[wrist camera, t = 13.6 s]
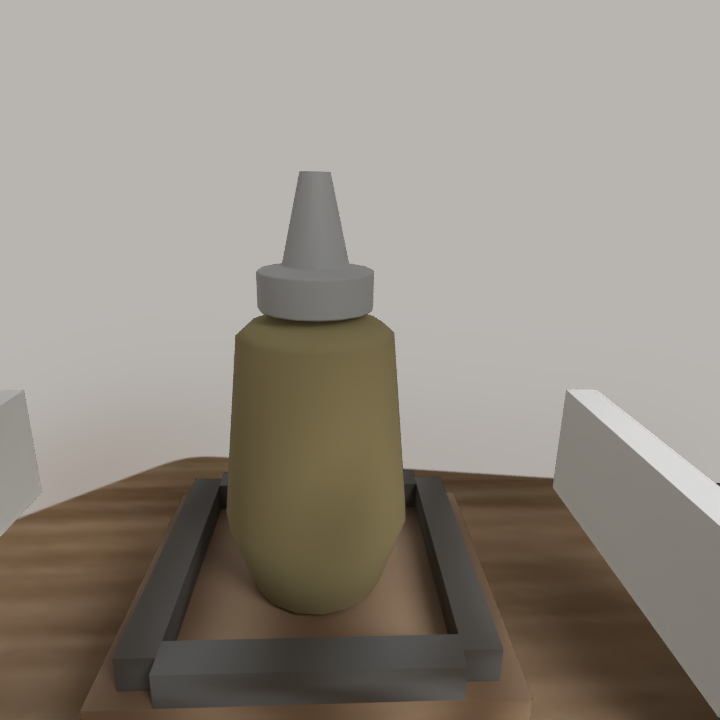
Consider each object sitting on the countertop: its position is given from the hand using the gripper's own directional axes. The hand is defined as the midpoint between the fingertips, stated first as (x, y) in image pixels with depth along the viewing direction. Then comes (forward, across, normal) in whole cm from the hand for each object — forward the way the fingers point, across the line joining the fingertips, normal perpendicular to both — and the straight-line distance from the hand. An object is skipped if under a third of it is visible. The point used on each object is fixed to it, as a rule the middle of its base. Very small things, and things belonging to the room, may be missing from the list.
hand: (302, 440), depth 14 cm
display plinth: (+10, 0, -17) cm, 19 cm away
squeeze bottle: (+10, 0, -12) cm, 15 cm away
